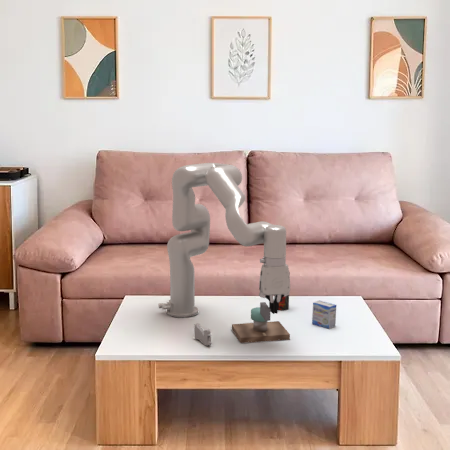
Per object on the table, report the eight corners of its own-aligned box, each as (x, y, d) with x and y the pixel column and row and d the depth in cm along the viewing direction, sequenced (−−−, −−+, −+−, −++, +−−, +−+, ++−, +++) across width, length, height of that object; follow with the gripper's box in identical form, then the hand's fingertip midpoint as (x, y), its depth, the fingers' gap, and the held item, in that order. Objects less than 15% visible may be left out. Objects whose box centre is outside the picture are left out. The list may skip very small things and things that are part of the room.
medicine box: (311, 324, 260) (312, 302, 258) (318, 321, 263) (319, 299, 262) (329, 329, 255) (329, 307, 253) (335, 326, 258) (336, 304, 256)
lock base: (240, 343, 241) (240, 326, 239) (231, 329, 254) (231, 313, 253) (289, 339, 244) (290, 323, 243) (278, 326, 258) (279, 310, 256)
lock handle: (249, 315, 251) (249, 297, 249) (267, 314, 252) (268, 296, 250) (257, 329, 237) (258, 310, 235) (277, 328, 238) (277, 309, 236)
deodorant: (291, 307, 279) (292, 271, 276) (284, 311, 274) (285, 275, 271) (278, 305, 282) (279, 269, 279) (271, 308, 277) (272, 272, 274)
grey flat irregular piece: (197, 338, 245) (212, 347, 237) (194, 339, 244) (209, 347, 236) (197, 323, 244) (212, 331, 236) (194, 323, 243) (208, 332, 235)
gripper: (257, 265, 231) (256, 317, 234) (299, 262, 234) (297, 314, 238) (250, 260, 238) (250, 310, 241) (291, 257, 242) (290, 307, 245)
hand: (273, 312), depth 240 cm, fingers closed
